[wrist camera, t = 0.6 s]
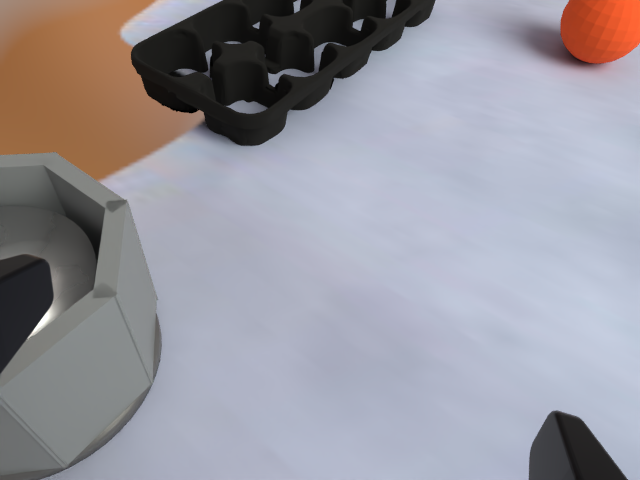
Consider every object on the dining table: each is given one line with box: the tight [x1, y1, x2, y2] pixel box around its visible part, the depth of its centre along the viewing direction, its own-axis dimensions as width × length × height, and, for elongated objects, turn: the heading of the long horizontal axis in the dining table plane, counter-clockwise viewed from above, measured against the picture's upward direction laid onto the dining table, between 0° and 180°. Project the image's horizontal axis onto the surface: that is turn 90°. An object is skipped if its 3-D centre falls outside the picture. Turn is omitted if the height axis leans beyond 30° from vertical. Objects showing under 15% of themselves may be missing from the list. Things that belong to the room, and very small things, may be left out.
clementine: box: [561, 0, 640, 64], centre depth 45 cm, size 8×7×7 cm
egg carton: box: [131, 0, 435, 145], centre depth 44 cm, size 18×30×4 cm, turn 156°
